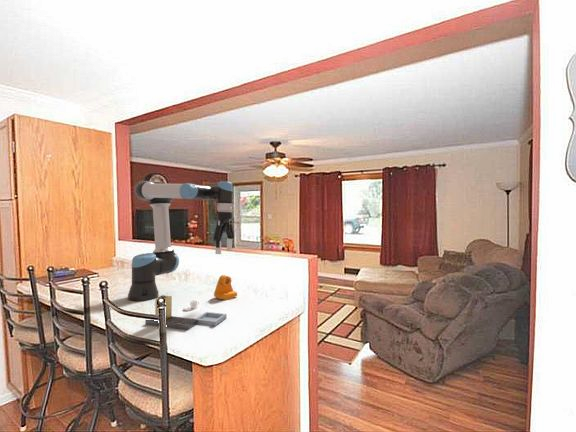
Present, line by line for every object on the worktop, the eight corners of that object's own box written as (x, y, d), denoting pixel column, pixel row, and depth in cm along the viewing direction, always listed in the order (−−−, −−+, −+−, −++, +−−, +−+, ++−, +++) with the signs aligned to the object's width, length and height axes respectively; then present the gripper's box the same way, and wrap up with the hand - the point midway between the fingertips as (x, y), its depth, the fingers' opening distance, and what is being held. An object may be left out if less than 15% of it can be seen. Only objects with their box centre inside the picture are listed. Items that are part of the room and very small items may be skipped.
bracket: (220, 300, 161) (220, 278, 161) (214, 297, 166) (214, 276, 166) (237, 297, 168) (238, 276, 168) (231, 294, 174) (231, 273, 173)
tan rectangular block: (155, 324, 125) (155, 297, 125) (162, 320, 129) (162, 295, 129) (164, 325, 124) (164, 298, 124) (171, 322, 128) (171, 295, 128)
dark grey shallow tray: (145, 325, 125) (145, 319, 125) (156, 319, 131) (156, 314, 131) (188, 331, 120) (188, 324, 120) (197, 324, 126) (197, 318, 126)
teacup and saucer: (183, 313, 141) (184, 305, 141) (182, 308, 149) (182, 300, 148) (203, 311, 145) (203, 303, 145) (200, 306, 152) (201, 298, 152)
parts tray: (194, 323, 127) (194, 319, 127) (206, 316, 137) (206, 311, 137) (215, 326, 125) (215, 321, 125) (226, 318, 134) (226, 314, 134)
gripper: (221, 211, 144) (220, 256, 144) (240, 211, 168) (239, 249, 169) (206, 211, 146) (205, 255, 146) (227, 211, 170) (227, 249, 170)
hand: (224, 252), depth 157 cm, fingers open, 13 cm apart
